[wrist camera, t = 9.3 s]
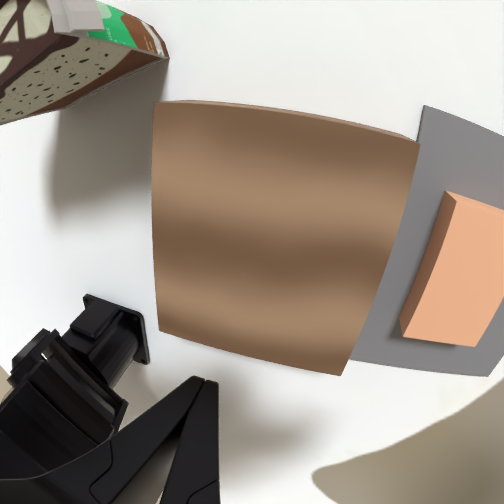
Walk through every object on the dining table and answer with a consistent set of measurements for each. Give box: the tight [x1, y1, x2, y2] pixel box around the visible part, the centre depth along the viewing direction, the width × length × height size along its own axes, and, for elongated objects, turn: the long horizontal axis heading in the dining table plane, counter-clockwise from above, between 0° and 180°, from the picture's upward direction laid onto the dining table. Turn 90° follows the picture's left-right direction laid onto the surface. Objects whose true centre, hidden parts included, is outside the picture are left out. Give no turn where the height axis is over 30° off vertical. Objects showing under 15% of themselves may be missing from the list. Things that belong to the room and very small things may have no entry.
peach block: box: [399, 191, 504, 347], centre depth 16 cm, size 9×6×2 cm, turn 174°
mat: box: [349, 105, 504, 377], centre depth 17 cm, size 18×14×1 cm
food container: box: [0, 0, 169, 125], centre depth 11 cm, size 12×6×10 cm, turn 103°
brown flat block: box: [152, 100, 421, 376], centre depth 17 cm, size 14×12×4 cm
